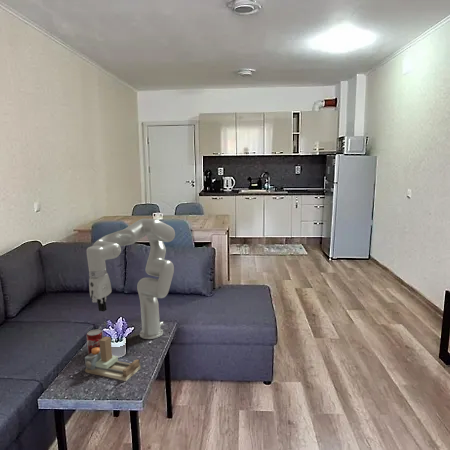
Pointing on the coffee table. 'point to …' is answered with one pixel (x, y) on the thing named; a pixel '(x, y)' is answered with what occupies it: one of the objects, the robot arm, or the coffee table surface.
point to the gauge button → (95, 350)
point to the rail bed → (111, 368)
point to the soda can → (93, 339)
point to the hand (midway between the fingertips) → (102, 310)
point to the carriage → (106, 354)
